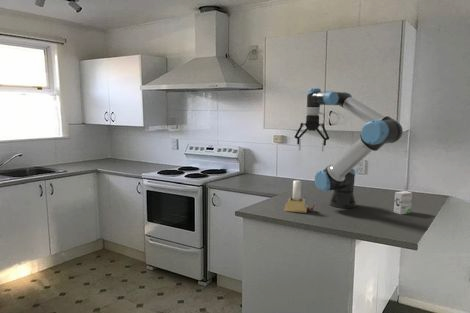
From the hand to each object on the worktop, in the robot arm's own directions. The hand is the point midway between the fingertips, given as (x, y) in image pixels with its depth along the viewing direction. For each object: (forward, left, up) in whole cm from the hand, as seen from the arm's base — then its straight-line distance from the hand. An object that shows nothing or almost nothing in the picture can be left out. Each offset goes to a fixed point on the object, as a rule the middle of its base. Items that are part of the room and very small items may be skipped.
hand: (311, 150), depth 222 cm
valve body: (+4, +20, -32) cm, 38 cm away
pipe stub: (+6, +20, -29) cm, 36 cm away
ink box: (-52, +6, -32) cm, 61 cm away
